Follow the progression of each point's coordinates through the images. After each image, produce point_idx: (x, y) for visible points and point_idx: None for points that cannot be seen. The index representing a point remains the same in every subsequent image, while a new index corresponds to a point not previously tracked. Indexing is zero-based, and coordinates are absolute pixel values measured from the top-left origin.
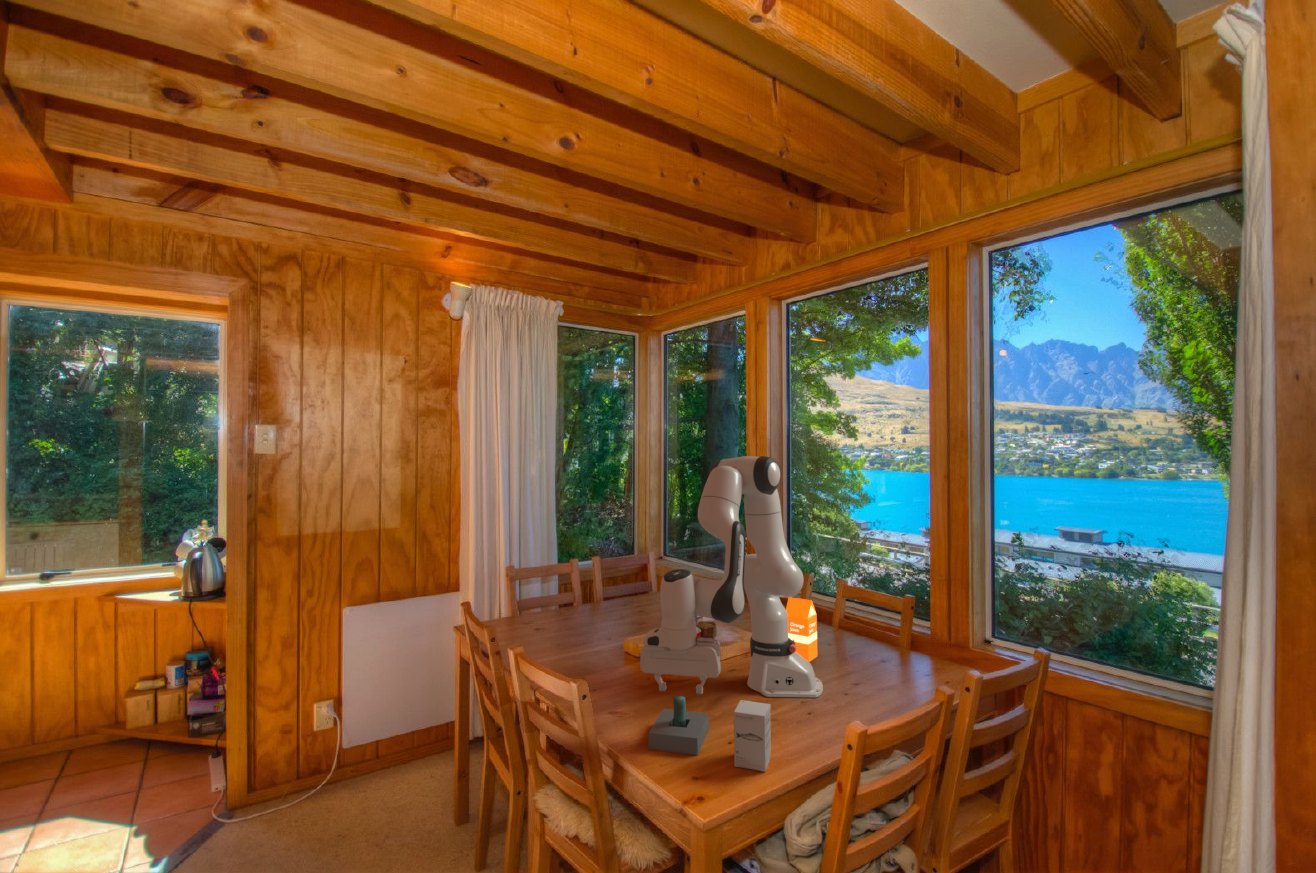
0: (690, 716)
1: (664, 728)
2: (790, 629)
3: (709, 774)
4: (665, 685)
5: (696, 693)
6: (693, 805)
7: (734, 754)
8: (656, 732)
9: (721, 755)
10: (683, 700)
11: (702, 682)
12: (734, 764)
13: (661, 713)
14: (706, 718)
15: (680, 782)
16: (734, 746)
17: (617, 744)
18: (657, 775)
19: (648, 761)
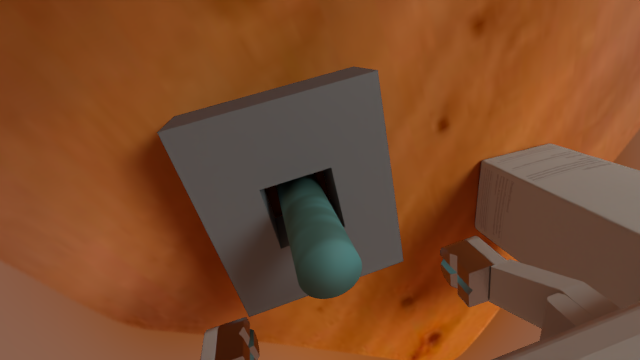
0: (318, 141)
1: (279, 270)
2: None
3: (430, 277)
4: (249, 353)
5: (443, 272)
6: (429, 355)
7: (497, 244)
8: (271, 302)
9: (436, 200)
10: (358, 275)
11: (539, 322)
12: (478, 230)
13: (187, 181)
14: (382, 115)
15: (385, 327)
16: (514, 257)
17: (146, 307)
18: (333, 337)
19: (283, 314)
